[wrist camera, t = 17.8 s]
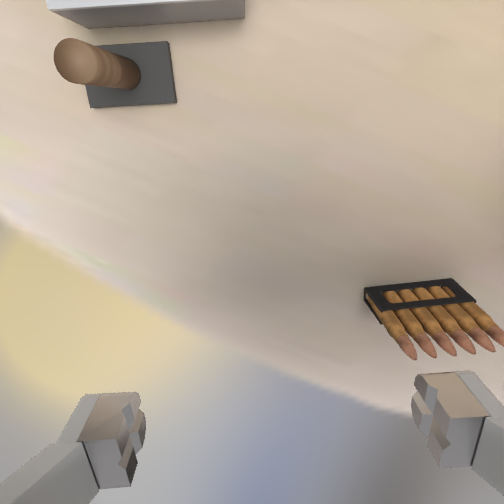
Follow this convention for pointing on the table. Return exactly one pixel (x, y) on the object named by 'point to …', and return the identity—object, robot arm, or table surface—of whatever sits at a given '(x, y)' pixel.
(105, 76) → the brown rounded rod
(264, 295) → the table surface
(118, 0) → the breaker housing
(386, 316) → the ammunition clip
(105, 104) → the rubber pad
